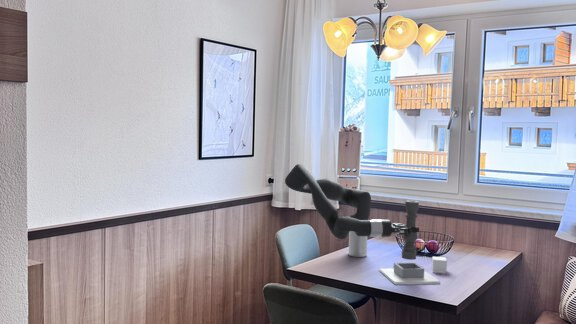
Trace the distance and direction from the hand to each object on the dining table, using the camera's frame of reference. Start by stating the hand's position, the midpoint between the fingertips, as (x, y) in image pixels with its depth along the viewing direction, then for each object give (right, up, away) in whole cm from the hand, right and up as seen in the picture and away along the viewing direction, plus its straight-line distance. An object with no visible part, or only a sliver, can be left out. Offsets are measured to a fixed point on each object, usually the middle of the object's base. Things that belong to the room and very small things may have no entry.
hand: (416, 228), depth 228 cm
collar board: (-3, -21, +1) cm, 22 cm away
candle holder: (-3, -13, 0) cm, 13 cm away
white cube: (+13, -21, +12) cm, 28 cm away
